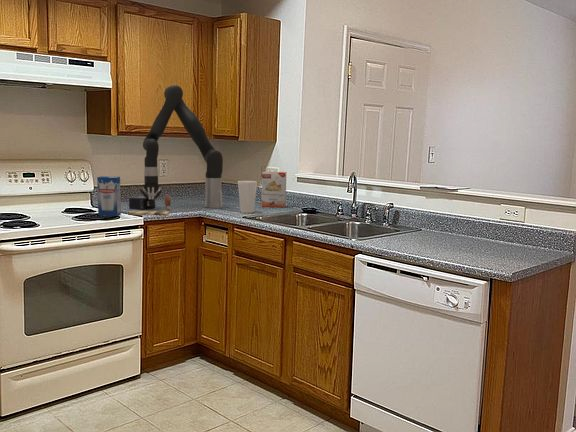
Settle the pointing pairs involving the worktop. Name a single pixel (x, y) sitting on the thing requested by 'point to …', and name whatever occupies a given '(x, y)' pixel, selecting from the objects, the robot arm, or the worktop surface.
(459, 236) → the worktop surface
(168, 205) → the awl
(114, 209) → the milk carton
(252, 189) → the cup
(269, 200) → the cracker box
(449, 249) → the worktop surface
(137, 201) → the small box
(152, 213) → the panel
